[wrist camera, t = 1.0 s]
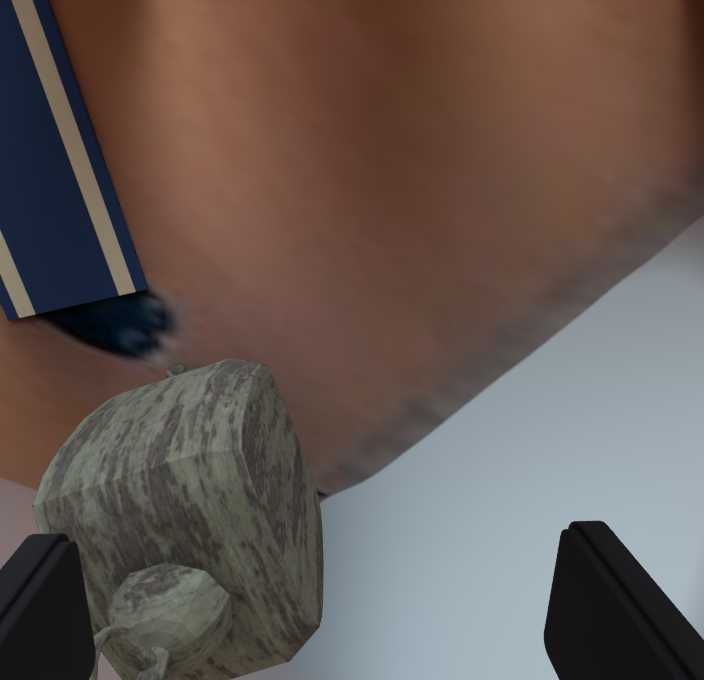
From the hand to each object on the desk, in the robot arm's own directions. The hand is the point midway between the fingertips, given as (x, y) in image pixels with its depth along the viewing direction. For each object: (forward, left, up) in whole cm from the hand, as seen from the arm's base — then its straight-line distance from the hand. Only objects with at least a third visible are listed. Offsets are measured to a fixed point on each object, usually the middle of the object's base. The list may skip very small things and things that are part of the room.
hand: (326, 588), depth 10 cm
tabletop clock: (+9, -8, -28) cm, 31 cm away
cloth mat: (-13, -17, -28) cm, 35 cm away
